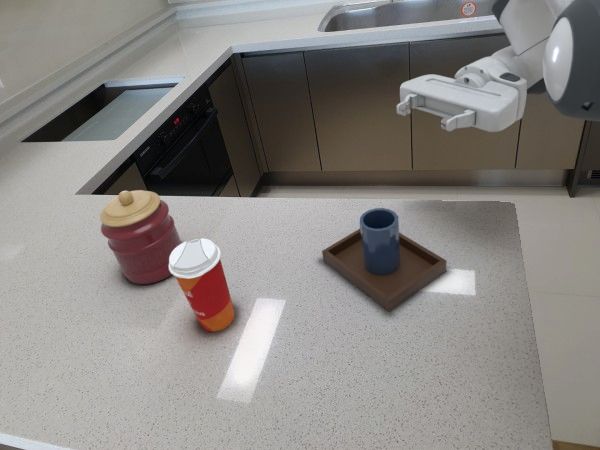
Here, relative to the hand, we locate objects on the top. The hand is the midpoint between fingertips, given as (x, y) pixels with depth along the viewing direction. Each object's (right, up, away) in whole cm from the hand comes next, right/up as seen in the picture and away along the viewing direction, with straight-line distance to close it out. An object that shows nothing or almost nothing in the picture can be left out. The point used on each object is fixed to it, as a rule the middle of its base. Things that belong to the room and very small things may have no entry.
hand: (421, 118), depth 73 cm
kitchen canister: (-49, -25, +22) cm, 59 cm away
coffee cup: (-33, -33, +7) cm, 48 cm away
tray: (-4, -24, +11) cm, 27 cm away
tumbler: (-4, -24, +11) cm, 26 cm away
